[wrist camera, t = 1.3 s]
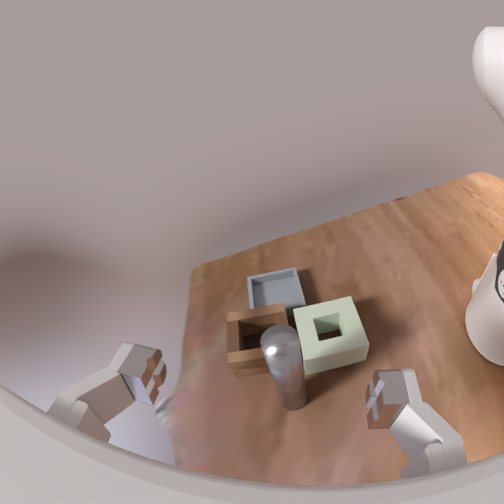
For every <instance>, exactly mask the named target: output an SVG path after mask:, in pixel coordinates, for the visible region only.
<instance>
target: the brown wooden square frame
mask: <svg viewBox="0 0 504 504" xmlns="http://www.w3.org/2000/svg"><path fill="white" fill-rule="evenodd" d="M279 324H283V325H288V320H287V315H286V310H285V305H284V302H283V303H278V304H273V305H268V306H263V307H258V308H253V309H247V310H242V311H237V312H231V313H227V346H228V364H229V366H230V367H231V369H232V371H233V372H234V374H235V376H236V377H239V376H246V375H253V374H259V373H265V372H270V370H269V367H268V364H267V362H266V359H265V356H264V353H263V350H262V347H261V348H255V349H249V350H245V338H244V336H248V335H254V334H259V333H264V332H265V331H266V330H267V329H268V328H270V327H272V326H274V325H279ZM288 326H289V325H288Z"/></svg>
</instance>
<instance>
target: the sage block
mask: <svg viewBox="0 0 504 504" xmlns="http://www.w3.org/2000/svg"><path fill="white" fill-rule="evenodd" d="M293 312H294V318H295V324H296V330H297V333H298V336H299V342H300V348H301V353H302V358H303V363H304V368H305V372H306V375H308V374H313V373H317V372H322V371H326V370H330V369H334V368H338V367H342V366H346V365H350V364H354V363H357V362H361V361H364V360H366V357H367V353H368V349H369V345H370V344H369V342H368V339H367V336H366V334H365V331H364V328H363V326H362V323H361V321H360V318H359V315H358V313H357V310H356V308H355V305H354V303H353V300H352V298H351V296H349V297H345V298H340V299H336V300H332V301H328V302H323V303H319V304H314V305H310V306H305V307H301V308H296V309H293ZM335 330H339V331H340V334H341V336H339V337H335V338H331V339H327V340H323V341H319V340H318V336H317V335H318V334H322V333H327V332H331V331H335Z"/></svg>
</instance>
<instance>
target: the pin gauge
mask: <svg viewBox="0 0 504 504" xmlns="http://www.w3.org/2000/svg"><path fill="white" fill-rule="evenodd" d="M260 344H261V347H262V350H263V353H264V356H265V359H266V362H267V364H268V367H269V370H270V373H271V375H272V378H273V381H274V384H275V387H276V389H277V392H278V395H279V398H280V400H281V403H282V405H283V406H284V407H285V408H286V409H288V410H298V409H300V408H302V407H303V406H304V405H305V404H306V401H307V393H306V385H305V378H304V370H303V363H302V356H301V349H300V342H299V336H298V333H297V331H296V330H295V329H294V328H293V327H291V326H288V325H283V324H279V325H274V326H272V327H270V328H268V329H267V330H266V331H265V332H264V333H263V335H262V337H261V340H260Z"/></svg>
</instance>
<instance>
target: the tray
mask: <svg viewBox="0 0 504 504" xmlns="http://www.w3.org/2000/svg"><path fill="white" fill-rule="evenodd" d="M247 281H248V292H249V303H250V309H253V308H258V307H263V306H268V305H273V304H278V303H283V302H284V305H285V310H286V315H287V317H289V316H294V312H293V309H296V308H301V307H305V306H306V303H305V299H304V296H303V292H302V288H301V285H300V281H299V277H298V274H297V270H296V267H294V268H289V269H284V270H279V271H275V272H270V273H265V274H260V275H255V276H250V277H247Z"/></svg>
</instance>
